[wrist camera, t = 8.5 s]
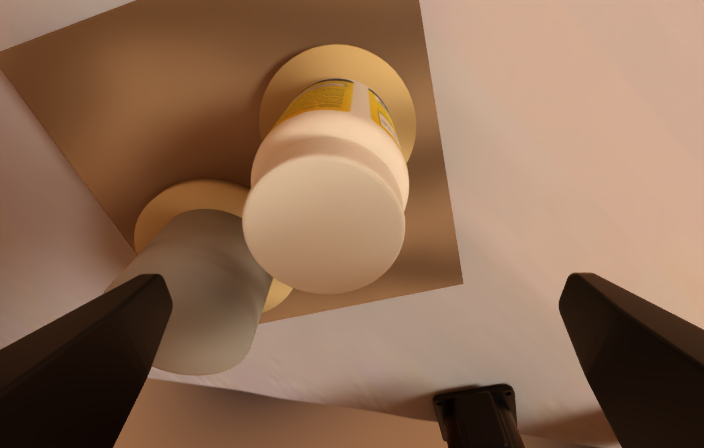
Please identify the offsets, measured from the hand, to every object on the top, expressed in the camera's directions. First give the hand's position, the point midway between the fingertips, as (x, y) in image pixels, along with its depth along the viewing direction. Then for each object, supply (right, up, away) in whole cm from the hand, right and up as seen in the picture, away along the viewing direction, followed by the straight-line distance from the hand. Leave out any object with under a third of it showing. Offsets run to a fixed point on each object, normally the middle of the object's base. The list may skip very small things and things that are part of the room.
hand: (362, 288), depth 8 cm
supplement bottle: (-1, +6, +8) cm, 10 cm away
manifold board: (-5, +4, +11) cm, 13 cm away
